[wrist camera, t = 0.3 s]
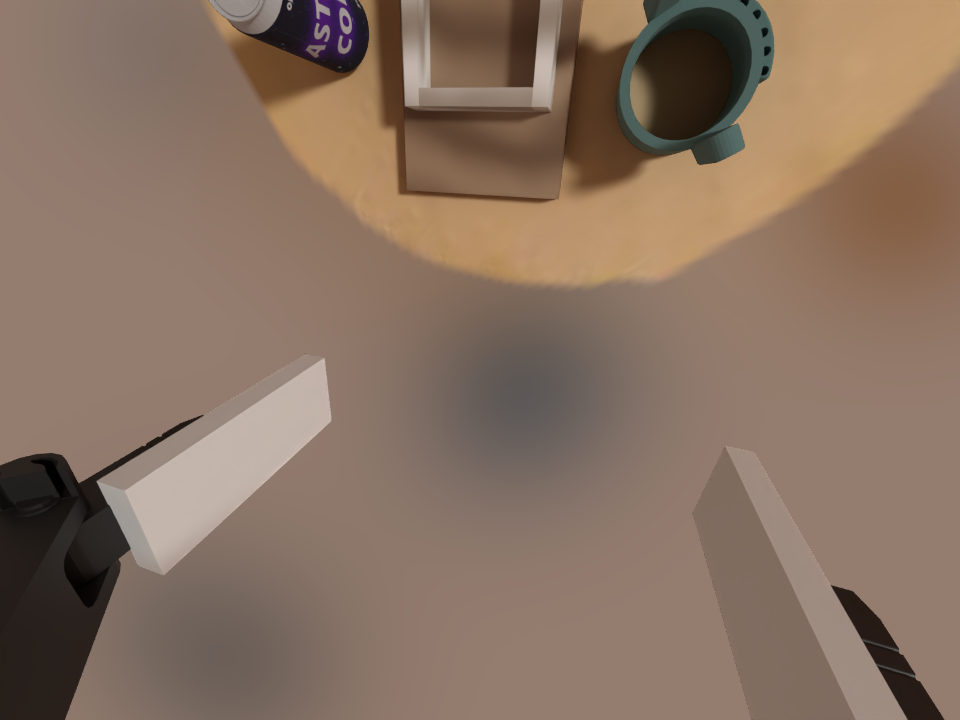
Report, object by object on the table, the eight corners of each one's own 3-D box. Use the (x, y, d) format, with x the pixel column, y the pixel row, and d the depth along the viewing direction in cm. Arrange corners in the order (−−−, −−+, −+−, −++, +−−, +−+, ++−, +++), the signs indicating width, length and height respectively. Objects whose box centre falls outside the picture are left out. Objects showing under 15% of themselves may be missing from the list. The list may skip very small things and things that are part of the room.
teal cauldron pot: (696, 173, 31) (733, 171, 23) (591, 130, 31) (591, 113, 23) (776, 38, 26) (854, -23, 19) (652, -9, 27) (677, -87, 19)
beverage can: (358, 89, 35) (256, 50, 24) (307, 49, 34) (182, -8, 24) (385, 19, 32) (282, -58, 21) (330, -25, 32) (199, -125, 21)
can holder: (401, -187, 27) (372, -242, 23) (610, -224, 24) (613, -295, 20) (413, 189, 37) (394, 191, 34) (558, 198, 34) (554, 200, 31)
